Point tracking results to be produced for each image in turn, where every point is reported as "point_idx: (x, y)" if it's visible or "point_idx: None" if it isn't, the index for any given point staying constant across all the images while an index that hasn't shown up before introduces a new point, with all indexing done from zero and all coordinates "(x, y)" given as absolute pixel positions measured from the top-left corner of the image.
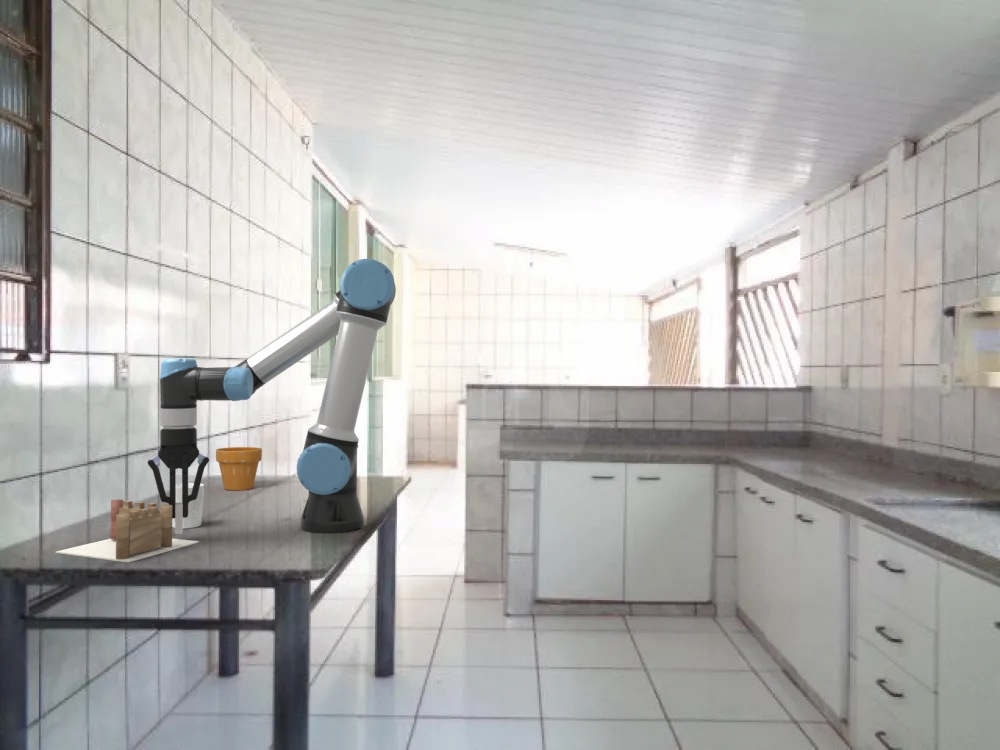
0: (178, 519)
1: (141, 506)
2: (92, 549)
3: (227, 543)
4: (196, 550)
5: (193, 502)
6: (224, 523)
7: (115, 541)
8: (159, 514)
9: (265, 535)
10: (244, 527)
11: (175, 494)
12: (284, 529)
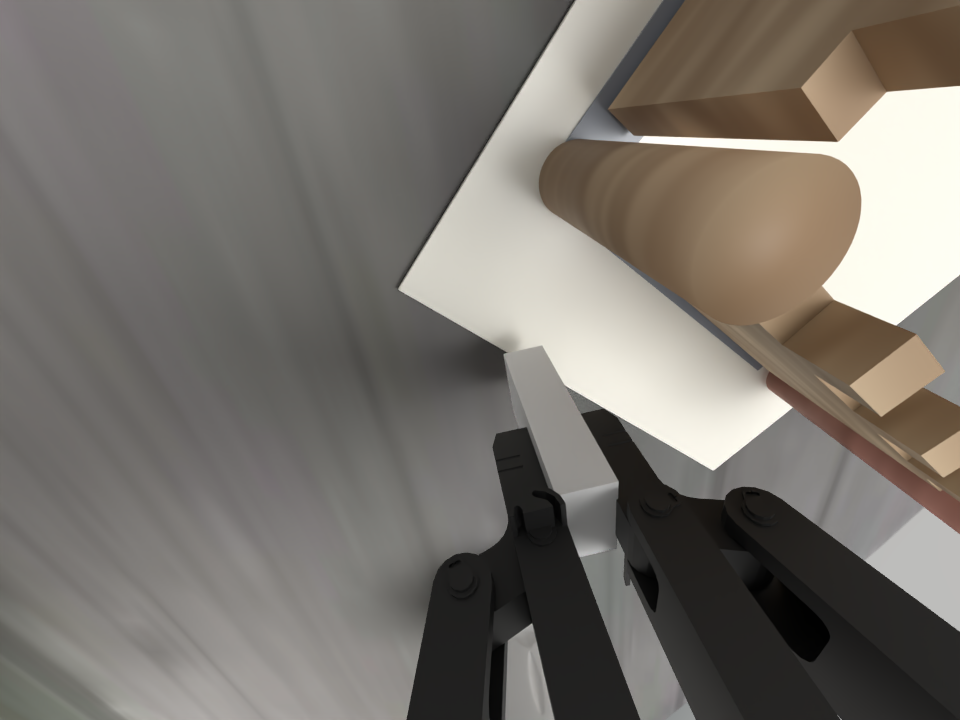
0: (550, 399)
1: (919, 404)
2: (941, 177)
3: (207, 243)
4: (351, 31)
5: (507, 670)
6: (388, 602)
7: None
8: (819, 61)
9: (69, 419)
10: (280, 556)
11: (671, 583)
12: (46, 525)
